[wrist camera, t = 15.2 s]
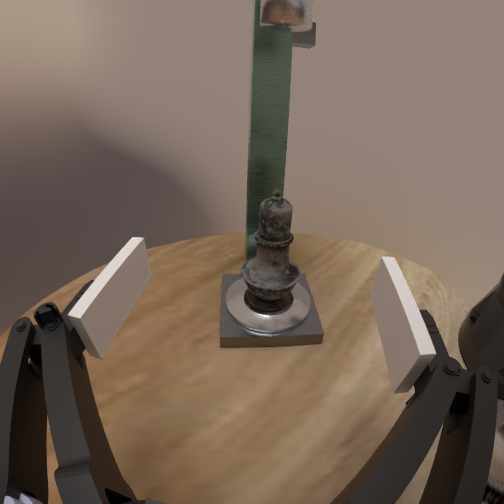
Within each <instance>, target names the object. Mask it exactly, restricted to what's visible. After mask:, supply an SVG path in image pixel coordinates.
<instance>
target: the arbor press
mask: <svg viewBox="0 0 504 504" xmlns="http://www.w3.org/2000/svg"><path fill="white" fill-rule="evenodd" d="M312 1H313V0H253V25H252V50H251V77H250V107H249V138H248V170H247V207H246V208H247V209H246V245H245V257H246V261H247V260H249V259H251V258H253V257H256V254H257V241H256V240H255V239H254V234H255V233H256V232H257V231H258V230H259V212H260V205H261V203H262V202H263V201H264V200H265V199H267V198H270V197H272V196H274V195H275V194H274V193H273V192H275V190H276V189H277V188H278V189H279V190H280V192H281V194H280V197H282V198H283V190H284V176H285V163H286V149H287V134H288V117H289V100H290V81H291V60H292V59H291V57H292V46H294V47H302V48H312V47H313V46H315V35H316V34H315V32H316V23H314V22H312ZM247 289H248V287H247V285H246V283H245V280H244V278H243V276H242V274H223V276H222V296H221V319H220V346H221V347H267V346H289V345H306V344H319V343H321V342H322V339H323V336H324V331H323V328H322V325H321V322H320V319H319V316H318V313H317V310H316V307H315V304H314V301H313V298H312V295H311V292H310V289H309V286H308V283H307V280H306V277H305V274H301V275H300V279H299V281H298V282H297V283H296V285H295V286H294V288H293V290H292V291H291V293H292V295H293V298H294V300H293V305H292V306H291V308H290V309H289V310H288V311H286V312H284V313H282V314H278V315H261V314H258V313H256V312H254V311H252V310H250V309H249V308H248V307H247V306H246V304H245V302H244V293H245V291H246V290H247Z"/></svg>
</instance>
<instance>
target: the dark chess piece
mask: <svg viewBox="0 0 504 504" xmlns="http://www.w3.org/2000/svg"><path fill="white" fill-rule="evenodd" d="M273 193H274V194H275V195H274V196H272V197H270V198H267V199H265V200H264V201H263V202H262V203H261V205H260V212H259V230H258V231H257V232H256V233H255V234H254V239H255V240H256V241H257V254H256V257H253V258H251V259H249V260H247V261H246V262H245V263H244V264H243V266H242V268H241V274H242V276H243V278H244V280H245V283H246V285H247V287H248V289H247V290H246V291H245V293H244V302H245V304H246V306H247V307H248V308H249V309H250V310H252V311H254V312H256V313H258V314H261V315H278V314H282V313H284V312H286V311H288V310H289V309H290V308H291V306H292V305H293V300H294V298H293V295H292V293H291V291H292V290H293V288H294V286H295V285H296V283H297V282H298V281H299V279H300V275H301V272H300V269H299V267H298V266H297V265H296V264H295V263H294V262H292V261H291V260H289V258H288V253H289V245H290V244H291V243H292V242H293V239H294V237H293V235H292V234H291V233H290V228H291V219H292V205H291V204H290V202H288V201H287V200H286V199H284V198H282V197H280V194H281V192H280V190H279V189H278V188H277V189H276V190H275V192H273Z"/></svg>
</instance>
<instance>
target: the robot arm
mask: <svg viewBox="0 0 504 504" xmlns="http://www.w3.org/2000/svg"><path fill="white" fill-rule="evenodd" d="M151 278H152V274H151V270H150V265H149V261H148V256H147V251H146V246H145V242H144V238H139V237H132V238H131V239H130V241H129V242H128V243H127V244H126V245H125V246H124V247H123V248H122V249H121V251H120V252H119V253H118V254H117V255H116V256H115V257H114V259H113V260H112V261H111V262H110V263H109V264H108V265H107V266H106V268H105V269H104V270H103V271H102V272H101V274H100V275H99V276H98V277H97V278H96V280H95V281H94V280H91V281H90V282H88V283H87V284H85V285H84V286H83V287H82V288H81V290H80V291H79V293H77V294H76V296H75V297H74V299H72V301H71V302H70V303H69V304H68V306H67V307H66V308H65V310H64V311H63V312H62V313H61V314H60V312H59V310H58V308H57V306H56V305H55V304H54V303H51V302H49V303H45V304H43V305H41V306H39V307H38V308H37V309H36V311H35V312H34V318H35V320H36V321H37V323H38V325H33V323H32V322H31V320H30V319H29V318H28V317H23V318H20V319H18V320H17V321H16V322H15V323H14V324H13V326H12V328H11V331H10V334H9V337H8V340H7V344H6V347H5V350H4V354H3V357H2V361H1V365H0V504H48V476H47V454H46V434H47V414H48V420H49V425H50V430H51V435H52V440H53V444H54V449H55V453H56V457H57V461H58V465H59V466H58V469H56V470H55V473H54V476H55V481H56V484H57V487H58V491H59V494H60V496H61V499H62V502H63V504H165V503H161V502H158V501H155V500H152V499H149V498H147V499H146V500H137V499H136V497H135V495H134V493H133V491H132V489H131V488H130V487H129V485H128V484H127V483H126V482H125V480H124V479H123V477H122V475H121V473H120V471H119V468H118V466H117V464H116V461H115V459H114V456H113V454H112V451H111V448H110V446H109V443H108V440H107V437H106V435H105V432H104V429H103V426H102V423H101V419H100V416H99V413H98V410H97V406H96V403H95V399H94V395H93V392H92V388H91V384H90V379H89V375H88V371H87V366H86V361H85V357H84V355H83V351H84V350H85V348H86V350H87V351H88V353H89V355H90V356H92V357H95V358H99V359H103V357H104V356H105V354H106V352H107V350H108V348H109V347H110V345H111V343H112V341H113V340H114V338H115V336H116V335H117V333H118V331H119V329H120V328H121V326H122V324H123V323H124V321H125V319H126V318H127V316H128V314H129V313H130V311H131V310H132V308H133V306H134V305H135V303H136V301H137V300H138V298H139V297H140V295H141V293H142V292H143V290H144V289H145V287H146V286H147V284H148V283H149V281H150V279H151ZM369 297H370V300H371V303H372V307H373V310H374V314H375V318H376V321H377V325H378V329H379V333H380V337H381V341H382V345H383V349H384V353H385V357H386V362H387V366H388V371H389V375H390V380H391V385H392V390H393V393H404V392H408V391H409V390H410V389H411V388H412V386H413V385H414V388H415V393H414V394H413V395H412V397H411V398H410V399H409V400H408V401H407V402H406V405H407V406H406V407H405V409H404V410H403V412H402V414H401V415H400V417H399V418H398V420H397V421H396V423H395V424H394V426H393V427H392V429H391V430H390V432H389V433H388V435H387V436H386V438H385V439H384V440H383V442H382V443H381V445H380V446H379V447H378V449H377V450H376V451H375V453H374V454H373V455H372V457H371V458H370V459H369V460H368V462H367V463H366V464H365V465H364V467H363V468H362V469H361V470H360V471H359V473H358V474H357V475H356V476H355V477H354V478H353V480H352V481H351V482H350V483H349V484H348V485H347V486H346V487H345V489H344V490H343V491H342V492H341V493H340V494H339V495H338V496H337V497H336V498H335V499H334V500H333V501H332V502H331V503H330V504H395V503H396V501H397V500H398V498H399V497H400V496H401V494H402V493H403V491H404V490H405V488H406V487H407V486H408V484H409V483H410V481H411V480H412V478H413V476H414V475H415V473H416V472H417V470H418V468H419V467H420V465H421V463H422V462H423V460H424V458H425V457H426V455H427V453H428V451H429V449H430V448H431V446H432V444H433V442H434V440H435V438H436V436H437V434H438V432H439V430H440V428H441V426H442V424H443V428H442V432H441V436H440V440H439V444H438V448H437V452H436V455H435V459H434V462H433V466H432V469H431V472H430V475H429V478H428V481H427V484H426V486H425V489H424V492H423V495H422V497H421V500H420V502H419V504H481V502H482V499H483V495H484V492H485V488H486V483H487V479H488V475H489V470H490V464H491V459H492V453H493V446H494V438H495V429H496V416H497V397H499V398H502V399H504V273H503V276H502V277H501V280H500V281H499V283H498V284H497V285H496V286H495V287H494V288H493V289H492V290H491V291H490V292H489V293H488V294H487V295H486V296H485V297H484V298H483V299H482V300H481V301H480V302H479V303H478V304H477V305H475V306H474V307H473V308H472V309H471V311H470V312H469V313H468V315H467V317H466V319H465V320H464V322H463V324H462V325H461V328H460V332H459V345H460V349H461V353H462V356H463V358H464V361H465V363H466V365H467V367H468V368H469V370H466V369H462V366H461V365H460V363H459V362H458V361H457V360H456V359H454V358H452V357H449V355H448V352H447V350H446V347H445V345H444V342H443V340H442V337H441V335H440V334H439V330H438V328H437V327H436V323H435V321H434V319H433V317H432V316H431V315H430V313H429V312H428V311H427V310H419V309H418V306H417V304H416V302H415V300H414V297H413V295H412V293H411V291H410V289H409V287H408V284H407V282H406V280H405V278H404V276H403V274H402V272H401V270H400V268H399V266H398V264H397V262H396V260H395V258H394V257H384V256H382V257H381V260H380V264H379V267H378V270H377V274H376V277H375V280H374V283H373V286H372V289H371V292H370V295H369ZM29 358H30V362H29V363H28V359H29ZM443 422H444V423H443Z"/></svg>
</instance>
